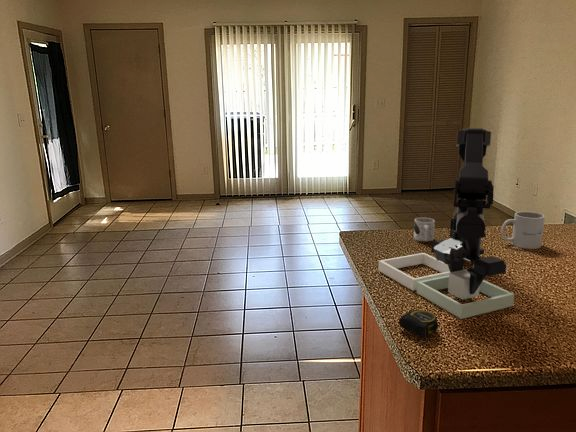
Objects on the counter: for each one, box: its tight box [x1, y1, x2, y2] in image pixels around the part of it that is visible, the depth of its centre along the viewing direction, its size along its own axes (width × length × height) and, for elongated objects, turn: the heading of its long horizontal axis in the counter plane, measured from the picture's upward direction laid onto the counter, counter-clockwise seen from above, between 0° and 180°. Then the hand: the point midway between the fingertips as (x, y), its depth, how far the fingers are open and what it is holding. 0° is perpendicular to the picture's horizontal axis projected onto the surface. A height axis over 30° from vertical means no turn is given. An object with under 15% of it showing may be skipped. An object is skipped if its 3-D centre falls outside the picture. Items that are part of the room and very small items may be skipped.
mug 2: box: [500, 211, 545, 250], centre depth 155 cm, size 12×9×10 cm
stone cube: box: [447, 268, 480, 300], centre depth 115 cm, size 5×5×5 cm
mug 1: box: [413, 217, 436, 243], centre depth 161 cm, size 10×7×7 cm, turn 172°
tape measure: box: [398, 309, 439, 339], centre depth 101 cm, size 7×7×4 cm
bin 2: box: [416, 275, 515, 320], centre depth 116 cm, size 16×16×3 cm
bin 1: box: [377, 252, 450, 292], centre depth 131 cm, size 16×16×3 cm
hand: (463, 289), depth 115 cm, fingers closed on stone cube, 5 cm apart
